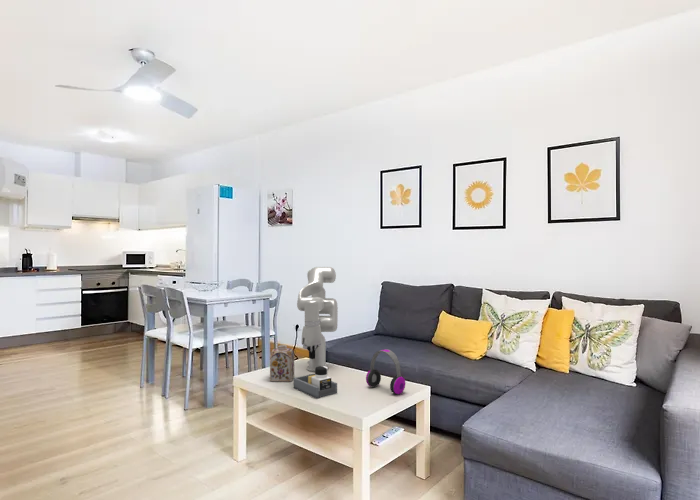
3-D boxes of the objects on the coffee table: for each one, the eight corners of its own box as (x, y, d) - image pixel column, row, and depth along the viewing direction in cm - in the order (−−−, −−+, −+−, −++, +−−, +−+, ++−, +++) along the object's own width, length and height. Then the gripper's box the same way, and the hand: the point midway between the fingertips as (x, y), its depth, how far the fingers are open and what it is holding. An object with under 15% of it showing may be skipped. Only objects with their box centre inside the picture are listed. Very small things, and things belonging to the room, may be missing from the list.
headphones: (364, 387, 218) (364, 348, 219) (375, 383, 225) (375, 345, 225) (395, 397, 204) (395, 354, 204) (407, 392, 210) (407, 351, 210)
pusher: (303, 388, 213) (303, 374, 213) (319, 384, 218) (318, 371, 219) (309, 390, 209) (309, 376, 209) (324, 387, 214) (324, 373, 214)
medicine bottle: (319, 394, 204) (319, 369, 204) (311, 391, 209) (311, 366, 209) (331, 391, 208) (331, 367, 208) (322, 388, 214) (322, 364, 214)
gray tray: (293, 387, 218) (293, 378, 218) (313, 383, 225) (313, 373, 225) (316, 398, 201) (316, 387, 201) (337, 393, 209) (337, 383, 209)
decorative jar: (291, 382, 228) (291, 348, 228) (269, 381, 228) (269, 348, 229) (294, 375, 240) (294, 343, 240) (274, 375, 240) (274, 343, 240)
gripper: (319, 320, 229) (319, 354, 230) (295, 324, 220) (296, 359, 221) (327, 322, 223) (328, 357, 224) (303, 326, 214) (303, 362, 215)
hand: (312, 358), depth 222 cm, fingers closed
